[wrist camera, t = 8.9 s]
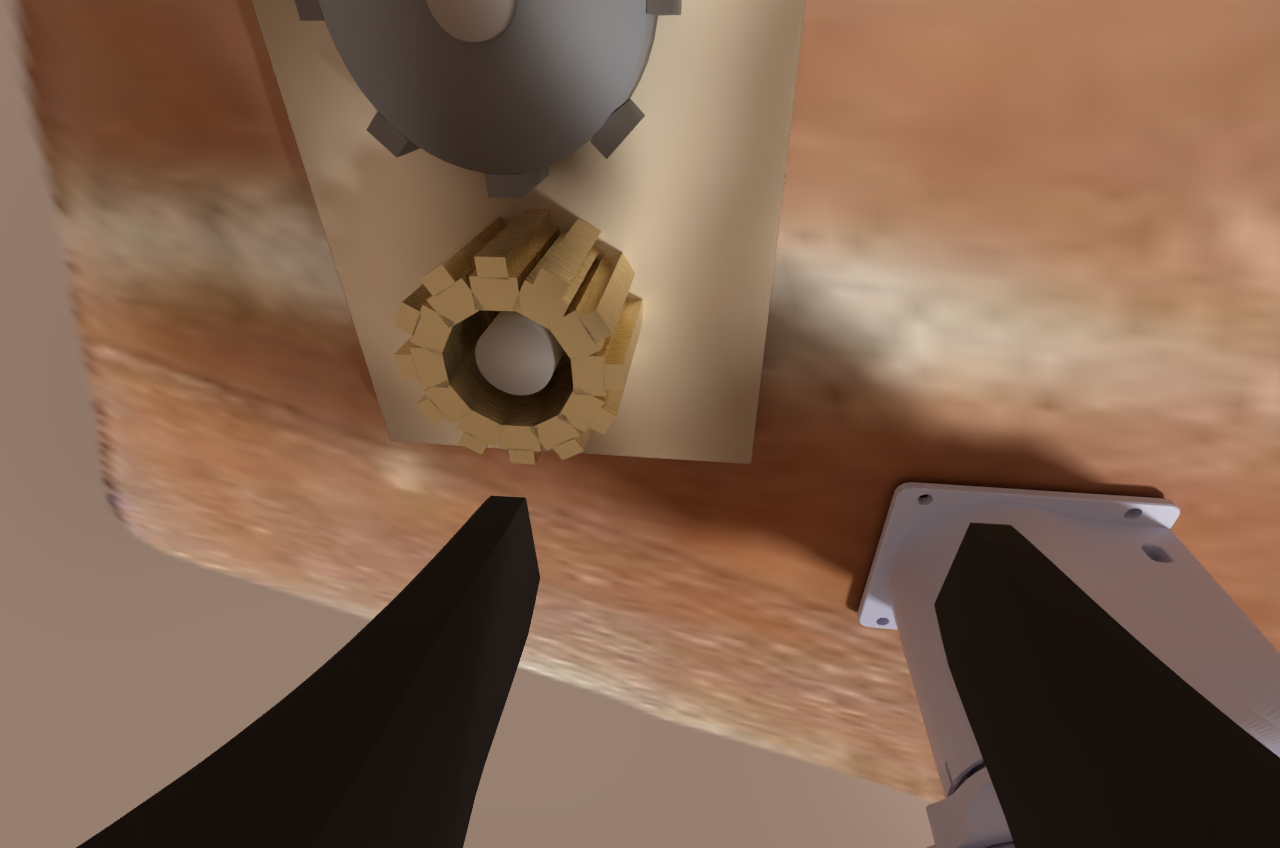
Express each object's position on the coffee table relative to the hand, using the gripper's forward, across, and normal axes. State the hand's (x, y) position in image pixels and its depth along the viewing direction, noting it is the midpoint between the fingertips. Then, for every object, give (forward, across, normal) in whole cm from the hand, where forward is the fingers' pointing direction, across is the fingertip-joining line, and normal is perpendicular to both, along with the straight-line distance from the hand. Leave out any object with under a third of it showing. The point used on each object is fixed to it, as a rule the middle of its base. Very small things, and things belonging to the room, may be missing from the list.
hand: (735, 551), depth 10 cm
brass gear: (+9, +5, 0) cm, 10 cm away
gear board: (+11, +5, -3) cm, 12 cm away
